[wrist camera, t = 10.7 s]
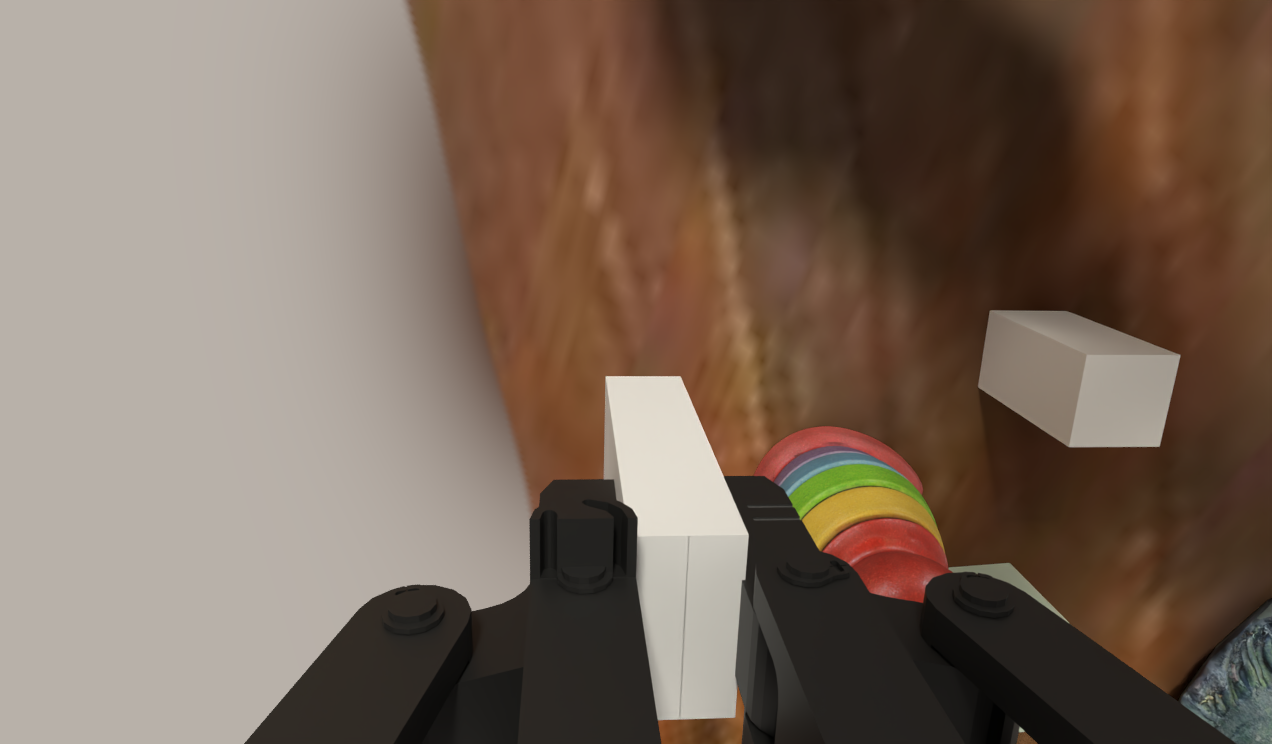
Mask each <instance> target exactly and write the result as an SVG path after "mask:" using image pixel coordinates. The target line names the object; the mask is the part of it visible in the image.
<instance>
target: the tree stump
mask: <svg viewBox="0 0 1272 744" xmlns="http://www.w3.org/2000/svg"><path fill="white" fill-rule="evenodd" d="M1178 702H1179V703H1181V704H1182V705H1184V706H1185V707H1186V708H1188V709H1189V710H1191V711H1192V712H1193V713H1195V714H1196V715H1198V716H1199V717H1200V718H1202V719H1203V720H1205V721H1206V722H1207V723H1209V724H1210V725H1211V726H1213V727H1214V728H1216V729H1217V730H1218V731H1220V732H1221V733H1223V734H1224V735H1225V736H1227V737H1228V738H1230V739H1231V740H1232V741H1234V742H1235V743H1237V744H1272V598H1271V599H1269V600H1267V601H1266V602H1265V603H1264V604H1262V605H1261V606H1260V607H1259V608H1258V609H1257V610H1256V611H1255V612H1253V613H1252V614H1251V615H1250V616H1249V617H1248V618H1247V619H1246V620H1244V621H1243V622H1242V623H1241V624H1240V625H1239V626H1238V627H1237V628H1235V629H1234V630H1233V631H1232V632H1231V633H1230V634H1229V635H1227V636H1226V637H1225V638H1224V639H1223V640H1222V641H1221V642H1220V643H1218V644H1217V645H1216V647H1215V649H1214V650H1213V652H1212V653H1211V654H1210V656H1209V657H1208V658H1207V660H1206V661H1205V662H1204V664H1203V665H1202V666H1201V668H1200V669H1199V671H1198V672H1197V673H1196V675H1195V676H1194V677H1193V679H1192V680H1191V681H1190V683H1189V684H1188V685H1187V687H1186V688H1185V690H1184V691H1183V692H1182V694H1181V696H1180V698H1179V700H1178Z"/></svg>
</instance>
